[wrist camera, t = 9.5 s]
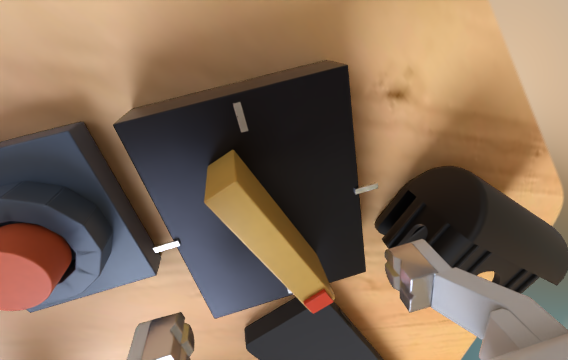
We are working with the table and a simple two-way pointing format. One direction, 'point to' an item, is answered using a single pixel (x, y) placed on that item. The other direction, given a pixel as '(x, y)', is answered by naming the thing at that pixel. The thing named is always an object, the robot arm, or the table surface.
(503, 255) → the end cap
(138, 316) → the table surface
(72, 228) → the button box
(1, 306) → the button
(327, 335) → the smart home device
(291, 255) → the rotary switch knob
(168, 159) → the rotary switch
